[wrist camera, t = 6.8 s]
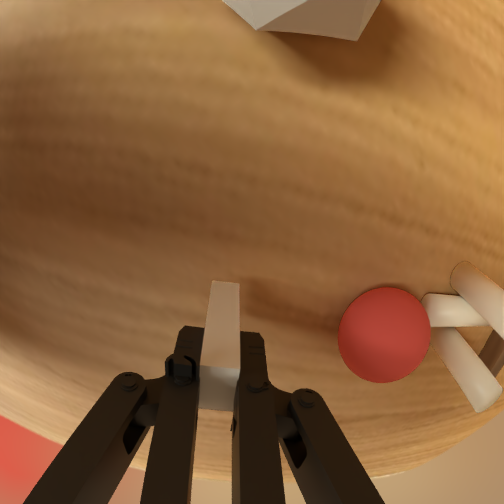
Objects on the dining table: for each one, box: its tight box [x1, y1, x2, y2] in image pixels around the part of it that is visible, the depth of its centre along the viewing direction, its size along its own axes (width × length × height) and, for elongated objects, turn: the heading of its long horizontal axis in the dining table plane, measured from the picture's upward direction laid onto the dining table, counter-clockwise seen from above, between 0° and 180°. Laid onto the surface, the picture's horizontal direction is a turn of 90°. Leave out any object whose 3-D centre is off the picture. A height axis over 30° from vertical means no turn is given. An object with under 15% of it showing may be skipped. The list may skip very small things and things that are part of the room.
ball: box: [338, 287, 431, 383], centre depth 17 cm, size 6×6×6 cm
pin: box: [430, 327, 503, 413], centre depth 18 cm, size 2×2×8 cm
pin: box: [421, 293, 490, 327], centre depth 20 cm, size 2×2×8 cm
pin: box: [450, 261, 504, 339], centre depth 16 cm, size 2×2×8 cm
